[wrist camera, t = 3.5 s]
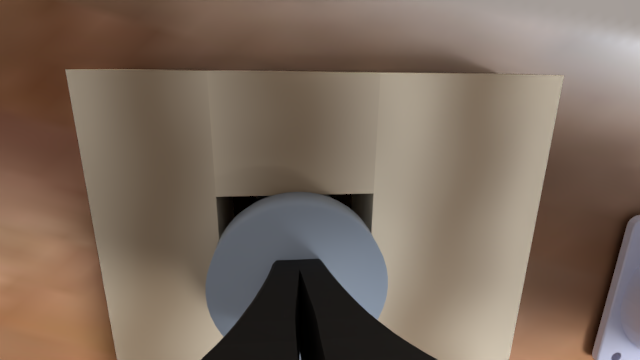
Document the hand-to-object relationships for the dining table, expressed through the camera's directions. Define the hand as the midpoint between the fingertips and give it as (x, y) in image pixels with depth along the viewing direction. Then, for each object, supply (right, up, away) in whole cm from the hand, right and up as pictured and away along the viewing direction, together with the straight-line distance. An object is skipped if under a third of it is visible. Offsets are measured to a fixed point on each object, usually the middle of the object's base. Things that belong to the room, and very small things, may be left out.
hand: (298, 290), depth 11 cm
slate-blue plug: (0, +1, +4) cm, 5 cm away
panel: (0, -6, +7) cm, 9 cm away
